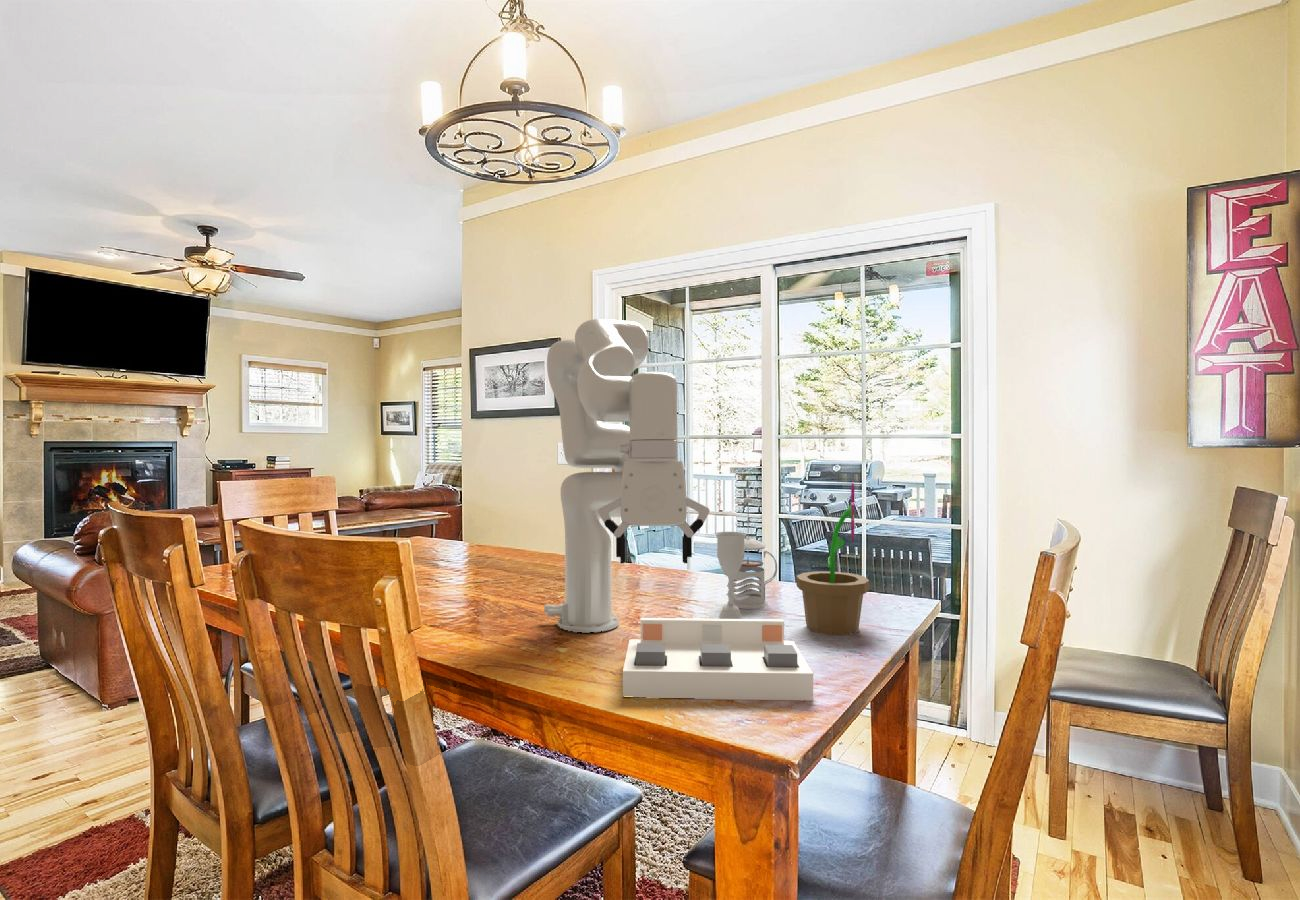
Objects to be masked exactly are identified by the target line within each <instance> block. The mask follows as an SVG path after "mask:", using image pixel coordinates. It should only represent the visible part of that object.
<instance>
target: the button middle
mask: <svg viewBox="0 0 1300 900" xmlns="http://www.w3.org/2000/svg"><path fill="white" fill-rule="evenodd" d="M701 666H707V667H731V651H730V648H729V644H701Z"/></svg>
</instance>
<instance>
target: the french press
mask: <svg viewBox="0 0 1300 900" xmlns="http://www.w3.org/2000/svg"><path fill="white" fill-rule="evenodd" d="M743 502H744V503H747V537H745V539H744V551H747V553H749V551H757V550H758V551H759V550H764V549H765V548H766V544H765V543H763V542H762V541H759V540H757V539H754V538H751V537H750V536H749V534H750V532H749V531H750V530H749V529H750V528H749V525H750V524H749V523H750V522H749V519H750V518H749V515H750V514H749V513H750V512H749V511H750V510H749V507H750V506H749V504H750V503H753V499H752V497H750V496H749V497H745V498H744V501H743ZM767 554H768V555H769V556H771V557H772V559H773V561H774V566H775V567H774V568H775V570H774V573H773V575H772V577H771V576H770V578H769V579H767V580H765V568H764V567H761V566H763V565H764V562H763V561H761V560H757V559H755V560H754V559H749V558H748V559H743V562H742V565H741V567H740V569H739V572H738V574H737V575H736V576H734V577H733V585H734V587H733V593H734V594H735V595H734V596H733V603H734V605H736V606H738V608H739V609H747V610H748V609H750V610H751V609H752V610H754V609H755V610H756V608H758V609H763V607H764V608H766V606H767V607H769V605H768V604H769V603H768V602H767V600H766V585H767V584H768V583H769V584H770V583H771V582H772V581H773V580H774V579H775V578H776V576H777V574H778V573H777V572H778V564H777V563H778V562H777V560H776V558H775V556H774V555H773V554H772V553H770V552H769V551H768V550H764V551H763V558H764V559H765V558H766V555H767ZM755 578H757V579H755ZM738 581H739V582H738ZM736 582H738V583H736ZM754 583H755V584H754ZM757 584H758V585H757ZM737 587H738V588H737ZM756 589H757V590H756ZM727 603H728V601H727V602H726V604H727Z"/></svg>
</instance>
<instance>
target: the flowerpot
mask: <svg viewBox="0 0 1300 900" xmlns="http://www.w3.org/2000/svg"><path fill="white" fill-rule="evenodd" d="M850 501H851V502H850V505H849V506H848V507H847V509H846V510H845V511H844V512H843V513H842V514H841V516H840V518H839V520H838V522H837V523H836V526H835V527H834V529H833V534H832V539H831V545H830V547H829V555H830V556H828V558H827V569H829V571H819V570H818V571H817V570H816V571H808V572H802V573H800V574H798V575H796V587H797V588H798V590H800V591H801V593H802V600H803V608H804V609H803V610H804V617H805V624H806V627H807V629H808V630H809V631H812V632H814V631H815V632H814V633H817V634H818V633H819V634H822V633H823V634H824V635H829V636H846V635H845V634H848V635H851V634H850V633H853V634H856V633H857V632H858V631H859V627H860V621H861V620H860V619H861V613H862V607H863V606H862V605H863V598H864V595H865V594H867V593H868V592H869V591H870V580H869V579H868V578H867V577H865V576H863V575H861V574H860V575H859V574H856V573H851V572H842V571H841V572H840V571H835V570H836V563H835V562H836V552H838V551H839V550H840V549H841V548H842V547H843V546H844V545H845V540H843V538H841V537H840V536H838V535H839V531H840V530H841V528H842V525H844V522H845V520H846V519H847V518H850V538H851V542H853V543H854V539H855V483H854V481H852V482H851V486H850ZM857 630H858V631H857ZM856 631H857V632H856ZM855 632H856V633H855ZM823 634H822V635H823ZM843 634H844V635H843Z"/></svg>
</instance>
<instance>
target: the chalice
mask: <svg viewBox="0 0 1300 900" xmlns="http://www.w3.org/2000/svg"><path fill="white" fill-rule="evenodd" d="M714 535H715V537H716V543H717V545H716V546H717V547H716V551H717V553H716V555H717V560H718V564H719V566H720V568H721V570H722V573H723V575H724V576H726V577H727V578H728V579H727V581H728V583H727V585H726V587H727V589H728V592H727V593H726V596H727V598H728V601H727V602H728V603H727V602H726V604H725V605H723V606H722V608H721V610H720V613H719V615H718V618H719V619H743V615H742V614H741V611H740V608H738V606H736V605H734V603H733V596H734V595H735V594H736V593H735V592H734V593H735V594H734V593H733V587H734V585H733V577H734V576H736V575H737V574H738V572H739V569H740V567H741V565H742V562H743V560H745V559H744V558H745V550H744V539H746V538H747V536H748V533H745V532H739V531H719V532H716V533H714ZM734 588H735V587H734Z"/></svg>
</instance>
